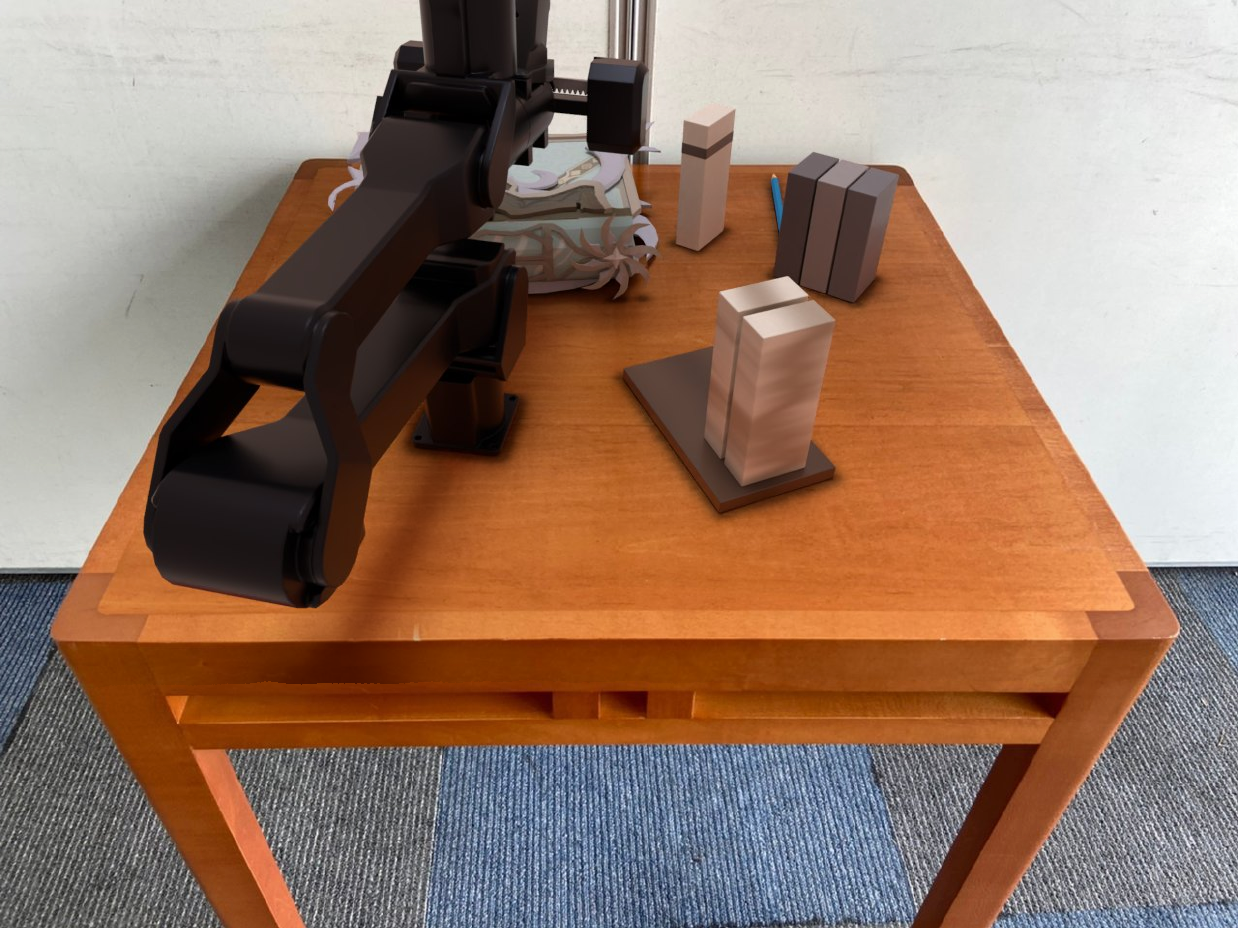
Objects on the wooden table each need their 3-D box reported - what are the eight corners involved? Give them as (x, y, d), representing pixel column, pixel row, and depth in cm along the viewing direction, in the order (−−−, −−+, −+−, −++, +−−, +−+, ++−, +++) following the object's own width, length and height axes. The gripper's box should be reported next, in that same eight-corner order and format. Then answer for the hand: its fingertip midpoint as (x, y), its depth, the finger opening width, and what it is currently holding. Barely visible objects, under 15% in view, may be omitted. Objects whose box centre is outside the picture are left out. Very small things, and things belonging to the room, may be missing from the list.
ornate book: (341, 329, 77) (690, 301, 79) (312, 226, 70) (694, 198, 72) (366, 206, 93) (654, 186, 95) (345, 113, 87) (654, 93, 89)
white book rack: (718, 513, 60) (739, 353, 51) (622, 378, 71) (625, 226, 62) (833, 477, 63) (871, 319, 54) (724, 353, 74) (741, 204, 65)
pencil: (782, 256, 85) (783, 249, 84) (769, 176, 97) (770, 170, 97) (790, 256, 85) (791, 249, 84) (776, 176, 97) (777, 170, 97)
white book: (698, 251, 86) (708, 126, 77) (675, 244, 87) (683, 119, 78) (723, 230, 89) (736, 108, 81) (701, 223, 90) (711, 101, 82)
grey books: (853, 303, 79) (877, 196, 73) (772, 276, 82) (788, 171, 76) (875, 279, 82) (899, 174, 76) (796, 253, 86) (813, 151, 79)
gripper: (629, 5, 55) (671, -32, 67) (343, -18, 58) (434, -50, 70) (622, 185, 62) (661, 121, 74) (366, 156, 64) (445, 100, 77)
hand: (551, 71), depth 74 cm, fingers open, 9 cm apart
